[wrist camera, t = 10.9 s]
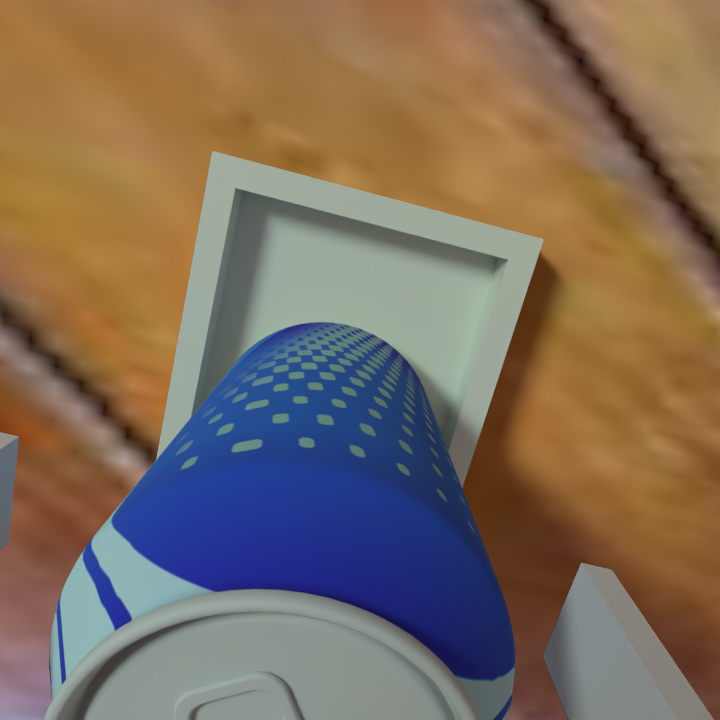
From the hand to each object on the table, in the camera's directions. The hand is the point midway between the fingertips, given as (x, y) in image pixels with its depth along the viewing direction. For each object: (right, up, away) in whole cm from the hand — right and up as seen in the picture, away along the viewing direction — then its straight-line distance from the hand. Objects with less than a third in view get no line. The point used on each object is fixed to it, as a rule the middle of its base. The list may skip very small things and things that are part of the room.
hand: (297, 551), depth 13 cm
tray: (0, +2, +11) cm, 11 cm away
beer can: (0, +2, +11) cm, 11 cm away
